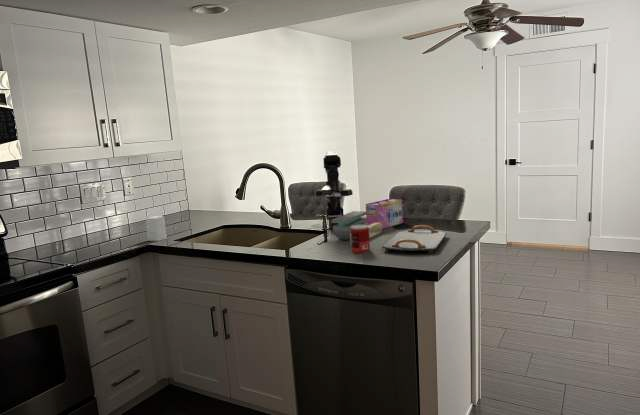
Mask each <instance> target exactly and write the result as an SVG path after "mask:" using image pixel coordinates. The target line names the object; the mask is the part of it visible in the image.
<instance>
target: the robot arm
mask: <svg viewBox="0 0 640 415" xmlns="http://www.w3.org/2000/svg"><path fill="white" fill-rule="evenodd" d="M322 160H323V169H325V170H324V171H325V173H326V177H327V178H326V179H327V181H326V182H325V186H323V187H322V188H321V189H317V190H316V191H315V196H316V197H321V196H325V198H326V199H328V200H329V201H328V202H327V207H326V218H327V219H328V228H327V230H332V231H333V226H335V225H337V224H338V223H332V219H335V218H337V217H340V216H342V215H345V214H344V208H343V207H342V206H341V202H340V200H341V198H342V197H349V196H352V195H353V193H354V192H353V190H352V189H351V188H350V189H342V190H341V187H340V182H341V180H339V178H340V177H339V176H340V173H339V168H341V166H342V162H341V161H342V160H341V157H340V155H338V153H336V151H333V150H331V151H327V152H325V155H324V157H323V159H322Z"/></svg>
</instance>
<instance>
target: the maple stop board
mask: <svg viewBox="0 0 640 415" xmlns="http://www.w3.org/2000/svg"><path fill="white" fill-rule="evenodd" d="M368 226H369V239H370V238H372V237H374V236H376V235H378V234H381V233H382V232H383V231H382V230H383V229H382V226H381V222H375V223H373V224H371V225H368ZM349 243H350V245H352V243H351V234H350V240H349Z"/></svg>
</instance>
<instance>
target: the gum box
mask: <svg viewBox="0 0 640 415" xmlns="http://www.w3.org/2000/svg"><path fill="white" fill-rule="evenodd" d="M365 211H367V215H365V218H366V225H371V224H373V223H375V222H381V226H382V230H383V229H387V228H390V227H394V226H397V225H400V224H403V223H404V216H403V214H404V213H403V212H404V211H403V200H402V198H400V199H394V198H387V199H382V200H379V201H373V202H369V203H365Z"/></svg>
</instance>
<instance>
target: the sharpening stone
mask: <svg viewBox="0 0 640 415" xmlns="http://www.w3.org/2000/svg"><path fill="white" fill-rule="evenodd" d="M366 215H367V211H366V210H365V211H364V210H363V211H359V210H358V211H357V210H353V211H350V212H347V213H345V214H344V215H342V216H340V217H337V218H335V219H332V223H338V224H337V225H335V226H333V230H332V231H333V233H334V234H335V235H336V237H337V239H338V240H347V239H350V234H351V226H354V225H367V221H366V217H364V216H366Z"/></svg>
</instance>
